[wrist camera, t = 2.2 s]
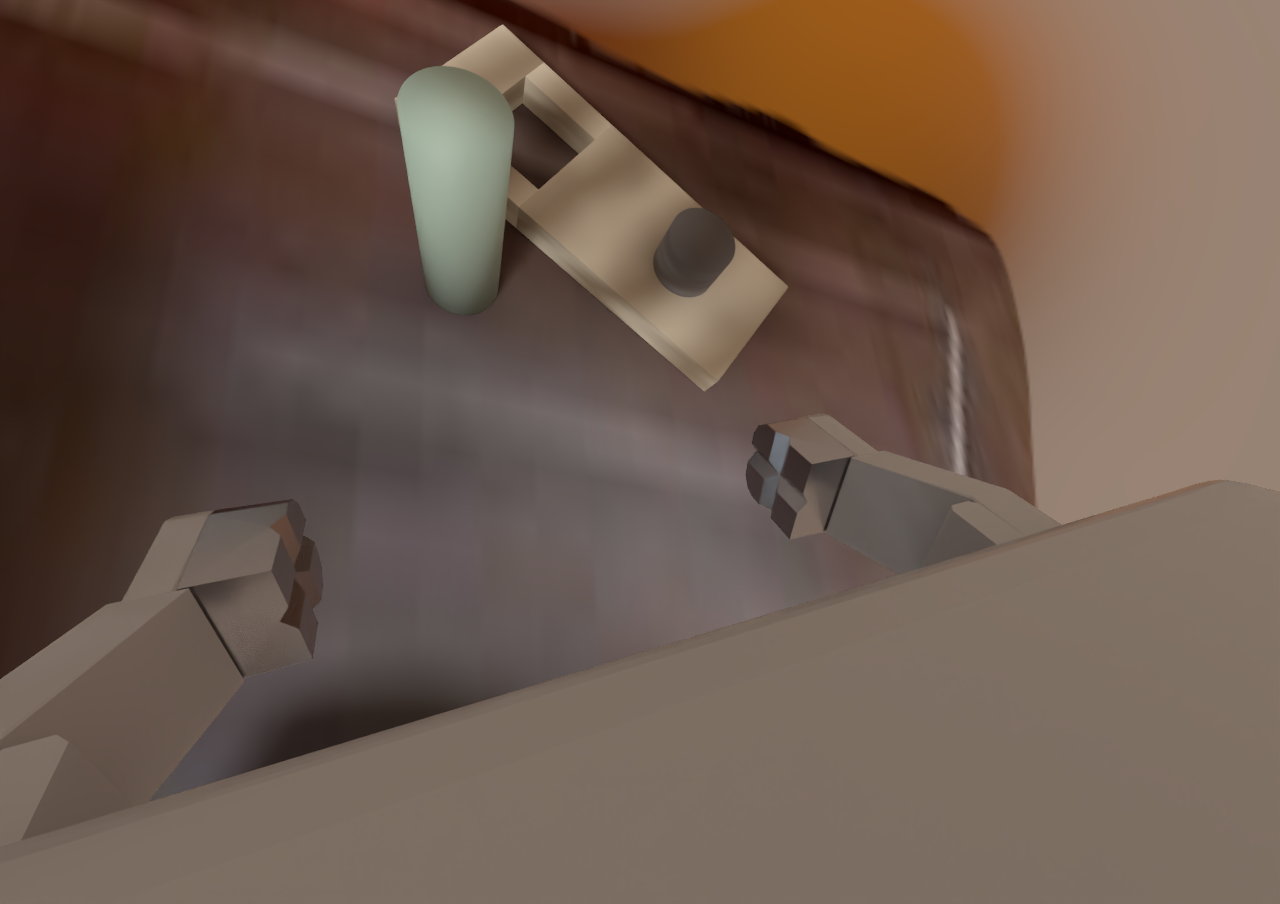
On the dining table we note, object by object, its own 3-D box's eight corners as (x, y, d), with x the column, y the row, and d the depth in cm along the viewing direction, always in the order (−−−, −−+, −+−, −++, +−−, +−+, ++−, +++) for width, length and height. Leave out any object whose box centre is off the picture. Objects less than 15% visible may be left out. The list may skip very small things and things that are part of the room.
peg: (409, 281, 29) (370, 102, 18) (458, 238, 30) (451, 47, 19) (466, 328, 30) (463, 183, 18) (512, 284, 31) (536, 124, 20)
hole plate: (399, 126, 31) (386, 48, 26) (500, 54, 34) (505, -28, 29) (704, 391, 33) (742, 363, 29) (772, 301, 36) (816, 262, 32)
